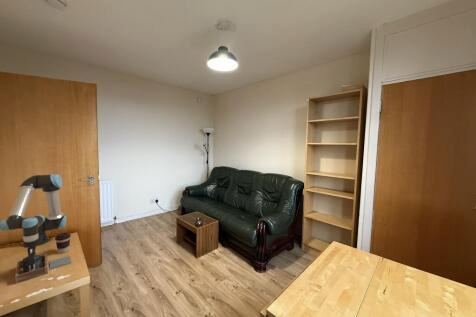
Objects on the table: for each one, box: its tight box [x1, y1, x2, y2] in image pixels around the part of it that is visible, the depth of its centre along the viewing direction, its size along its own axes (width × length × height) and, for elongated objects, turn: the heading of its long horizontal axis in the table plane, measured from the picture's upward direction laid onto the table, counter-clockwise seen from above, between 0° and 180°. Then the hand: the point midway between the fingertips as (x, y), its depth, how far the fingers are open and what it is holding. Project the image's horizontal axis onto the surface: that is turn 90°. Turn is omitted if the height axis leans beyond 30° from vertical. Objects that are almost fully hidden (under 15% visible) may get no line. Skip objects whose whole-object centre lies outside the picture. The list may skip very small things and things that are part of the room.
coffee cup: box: [54, 232, 71, 254], centre depth 171 cm, size 10×10×15 cm
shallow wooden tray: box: [14, 253, 49, 284], centre depth 146 cm, size 22×15×5 cm
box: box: [22, 254, 43, 274], centre depth 146 cm, size 8×6×11 cm
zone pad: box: [49, 255, 72, 270], centre depth 156 cm, size 12×12×1 cm
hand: (32, 268), depth 146 cm, fingers open, 13 cm apart
